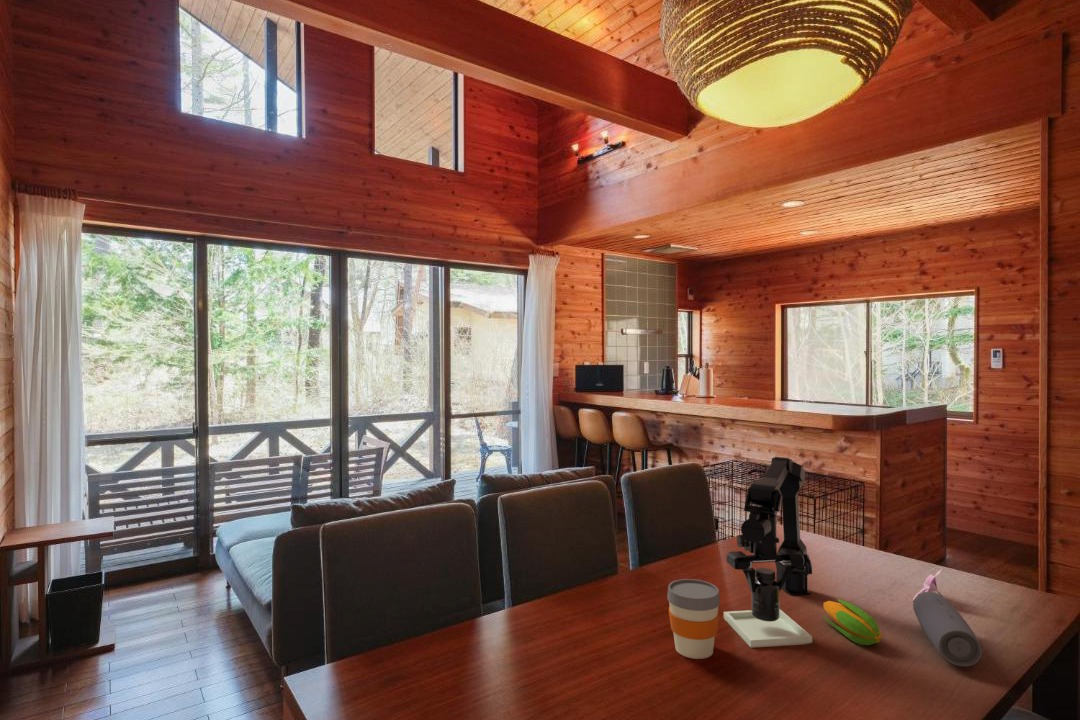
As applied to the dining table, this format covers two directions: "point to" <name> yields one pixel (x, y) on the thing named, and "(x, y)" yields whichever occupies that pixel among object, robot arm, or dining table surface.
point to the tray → (767, 630)
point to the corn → (853, 622)
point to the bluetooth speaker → (947, 629)
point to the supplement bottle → (765, 596)
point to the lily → (929, 585)
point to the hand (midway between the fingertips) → (765, 591)
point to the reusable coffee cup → (693, 616)
